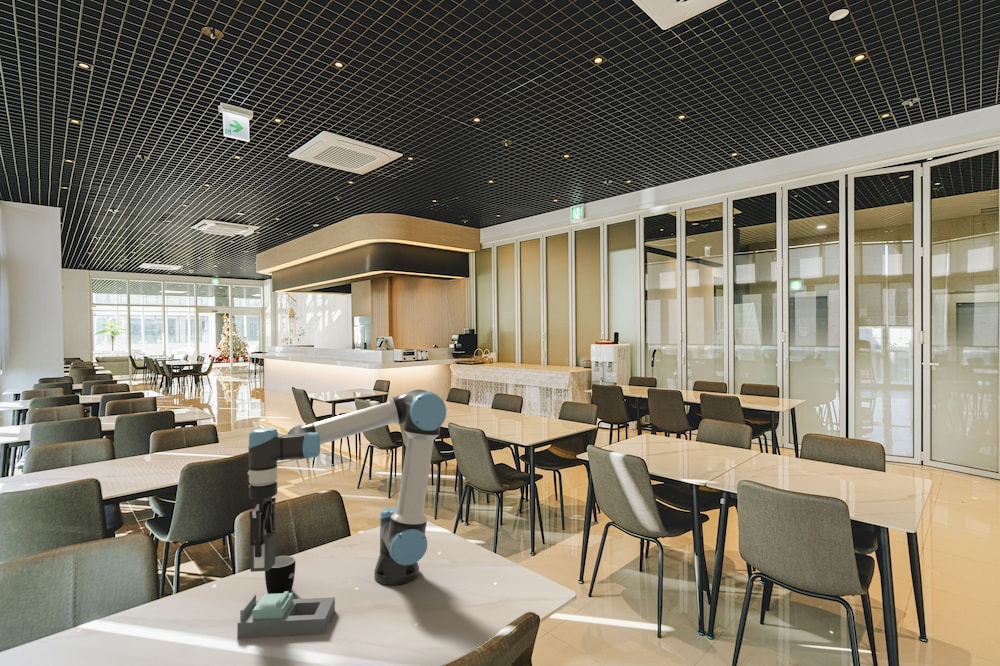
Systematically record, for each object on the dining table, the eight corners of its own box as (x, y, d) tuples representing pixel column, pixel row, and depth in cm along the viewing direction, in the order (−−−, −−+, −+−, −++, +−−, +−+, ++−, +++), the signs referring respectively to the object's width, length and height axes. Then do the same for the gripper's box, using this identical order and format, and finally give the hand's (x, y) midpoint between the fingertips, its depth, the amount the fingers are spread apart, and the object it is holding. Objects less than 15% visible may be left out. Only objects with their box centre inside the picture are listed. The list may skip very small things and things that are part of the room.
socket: (334, 610, 150) (335, 588, 150) (324, 633, 138) (325, 609, 138) (254, 614, 147) (254, 591, 148) (237, 638, 136) (237, 613, 136)
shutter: (292, 601, 147) (293, 589, 147) (282, 617, 138) (282, 605, 138) (264, 602, 146) (264, 590, 147) (252, 619, 137) (252, 606, 138)
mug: (290, 599, 156) (291, 566, 157) (260, 601, 155) (261, 568, 155) (300, 581, 168) (300, 551, 169) (272, 583, 167) (272, 552, 167)
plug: (275, 563, 148) (274, 527, 148) (268, 570, 143) (268, 533, 143) (257, 564, 148) (257, 527, 148) (250, 571, 143) (250, 534, 143)
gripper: (261, 474, 155) (262, 550, 154) (236, 491, 137) (236, 578, 136) (287, 474, 155) (287, 549, 155) (264, 490, 137) (264, 576, 137)
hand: (263, 562), depth 145 cm, fingers closed on plug, 5 cm apart
